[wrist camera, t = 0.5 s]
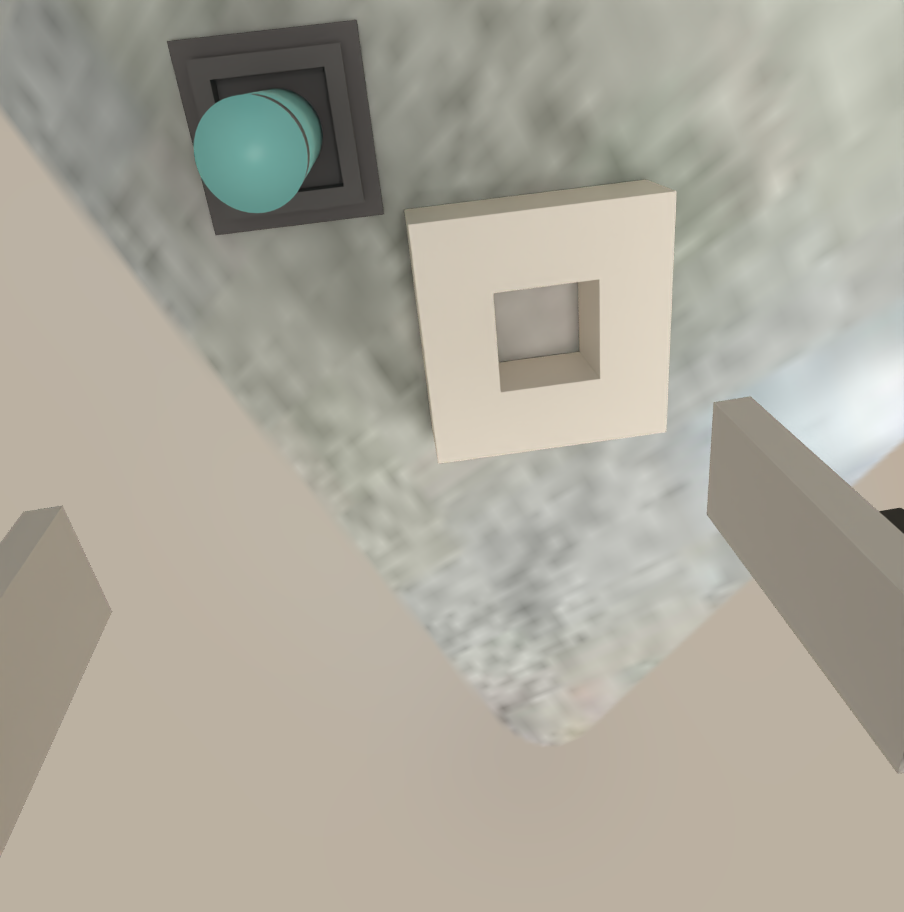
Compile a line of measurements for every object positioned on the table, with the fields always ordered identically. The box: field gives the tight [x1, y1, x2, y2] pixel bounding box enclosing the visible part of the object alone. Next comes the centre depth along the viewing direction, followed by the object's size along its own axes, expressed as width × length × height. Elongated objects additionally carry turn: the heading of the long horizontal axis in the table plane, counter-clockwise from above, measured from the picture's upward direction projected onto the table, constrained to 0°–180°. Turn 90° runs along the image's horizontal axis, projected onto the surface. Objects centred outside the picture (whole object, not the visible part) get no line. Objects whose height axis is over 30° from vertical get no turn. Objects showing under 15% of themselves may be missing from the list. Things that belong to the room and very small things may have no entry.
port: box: [404, 179, 676, 464], centre depth 37 cm, size 12×12×4 cm
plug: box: [194, 88, 323, 213], centre depth 28 cm, size 4×4×10 cm
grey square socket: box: [167, 20, 384, 235], centre depth 32 cm, size 8×8×2 cm
